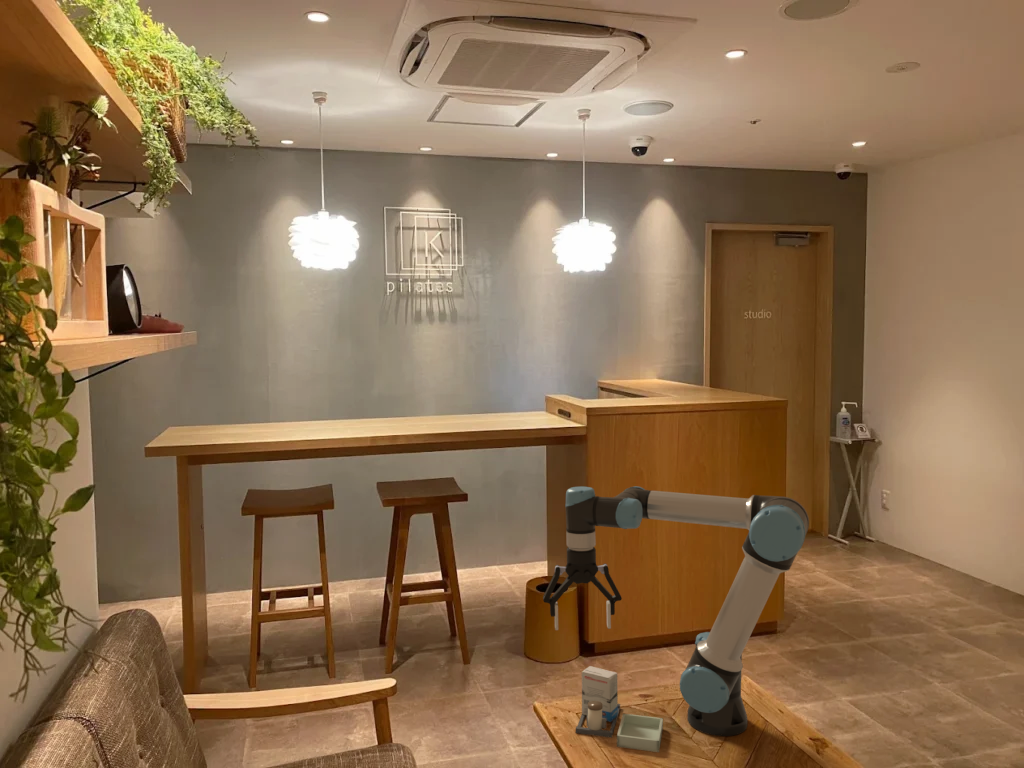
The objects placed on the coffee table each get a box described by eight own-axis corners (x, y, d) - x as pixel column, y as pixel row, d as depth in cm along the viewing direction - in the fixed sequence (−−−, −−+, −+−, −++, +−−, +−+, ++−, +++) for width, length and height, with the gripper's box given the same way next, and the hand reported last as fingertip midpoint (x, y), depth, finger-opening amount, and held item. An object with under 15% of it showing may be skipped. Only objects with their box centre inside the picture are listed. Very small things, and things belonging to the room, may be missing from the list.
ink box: (618, 715, 217) (619, 671, 216) (610, 723, 212) (610, 678, 212) (589, 707, 221) (589, 664, 220) (580, 714, 217) (581, 671, 216)
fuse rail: (620, 708, 222) (620, 699, 222) (611, 737, 206) (611, 728, 206) (586, 704, 224) (586, 695, 224) (575, 732, 209) (575, 723, 208)
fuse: (603, 728, 211) (603, 701, 210) (601, 736, 207) (601, 708, 206) (588, 727, 212) (588, 699, 211) (586, 734, 208) (586, 706, 207)
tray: (662, 728, 211) (662, 718, 211) (658, 752, 199) (659, 741, 199) (622, 723, 213) (623, 713, 213) (616, 746, 202) (616, 735, 202)
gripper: (627, 542, 217) (628, 621, 218) (532, 544, 217) (534, 623, 218) (631, 549, 209) (632, 631, 210) (533, 552, 209) (535, 634, 210)
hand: (582, 627), depth 214 cm, fingers open, 13 cm apart
